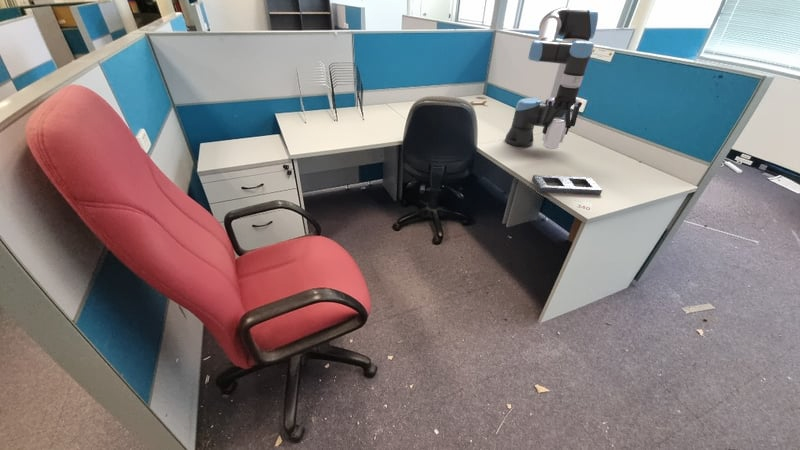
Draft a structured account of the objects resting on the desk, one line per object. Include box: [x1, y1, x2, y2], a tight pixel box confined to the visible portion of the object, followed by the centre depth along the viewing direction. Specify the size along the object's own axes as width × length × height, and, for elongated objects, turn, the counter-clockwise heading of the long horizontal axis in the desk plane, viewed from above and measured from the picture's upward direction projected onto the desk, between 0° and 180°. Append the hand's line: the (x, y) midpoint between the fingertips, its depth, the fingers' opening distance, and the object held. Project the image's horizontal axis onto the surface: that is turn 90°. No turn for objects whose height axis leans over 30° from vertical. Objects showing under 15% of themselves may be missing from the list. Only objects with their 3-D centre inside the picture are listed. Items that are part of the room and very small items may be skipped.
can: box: [542, 117, 566, 150], centre depth 142 cm, size 6×6×12 cm
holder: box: [531, 174, 603, 196], centre depth 144 cm, size 11×26×2 cm, turn 88°
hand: (551, 140), depth 144 cm, fingers closed on can, 6 cm apart
